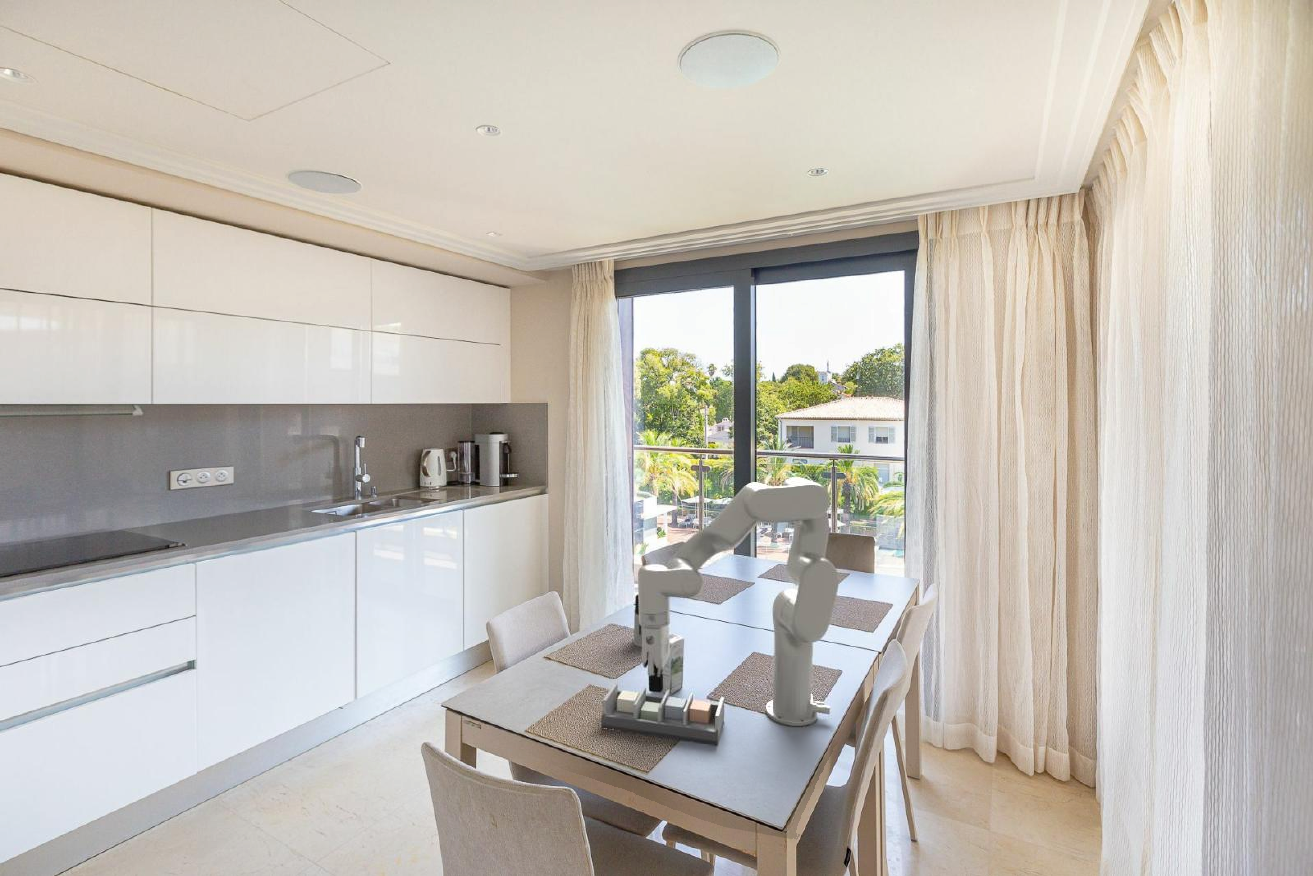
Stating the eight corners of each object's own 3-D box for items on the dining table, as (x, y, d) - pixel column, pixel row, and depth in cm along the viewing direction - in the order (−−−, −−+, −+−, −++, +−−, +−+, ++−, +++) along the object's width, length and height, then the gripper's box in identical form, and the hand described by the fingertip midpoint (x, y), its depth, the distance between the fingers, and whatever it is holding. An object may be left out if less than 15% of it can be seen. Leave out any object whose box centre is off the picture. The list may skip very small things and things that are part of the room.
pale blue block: (686, 711, 152) (686, 699, 151) (682, 719, 147) (683, 707, 147) (668, 708, 153) (669, 696, 152) (664, 717, 148) (665, 705, 148)
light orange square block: (710, 714, 150) (711, 702, 150) (708, 723, 146) (708, 711, 146) (692, 711, 151) (693, 699, 151) (689, 720, 147) (689, 708, 147)
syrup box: (666, 682, 174) (667, 631, 173) (683, 688, 170) (684, 637, 170) (653, 689, 170) (654, 637, 169) (670, 696, 166) (671, 643, 165)
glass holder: (660, 637, 207) (661, 593, 206) (656, 654, 193) (657, 607, 192) (634, 636, 208) (635, 592, 207) (628, 653, 194) (629, 605, 193)
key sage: (662, 715, 153) (662, 703, 153) (658, 724, 149) (658, 712, 149) (645, 713, 154) (645, 701, 154) (640, 722, 150) (640, 709, 150)
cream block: (639, 704, 154) (639, 692, 154) (634, 713, 150) (634, 700, 150) (622, 702, 155) (622, 690, 155) (616, 710, 151) (617, 698, 151)
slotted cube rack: (723, 722, 153) (724, 696, 153) (717, 745, 142) (718, 717, 142) (615, 706, 160) (615, 681, 159) (601, 728, 149) (601, 701, 148)
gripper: (662, 629, 142) (664, 707, 143) (676, 607, 156) (677, 678, 158) (630, 626, 144) (632, 703, 145) (647, 605, 158) (648, 675, 159)
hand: (656, 690), depth 151 cm, fingers closed
